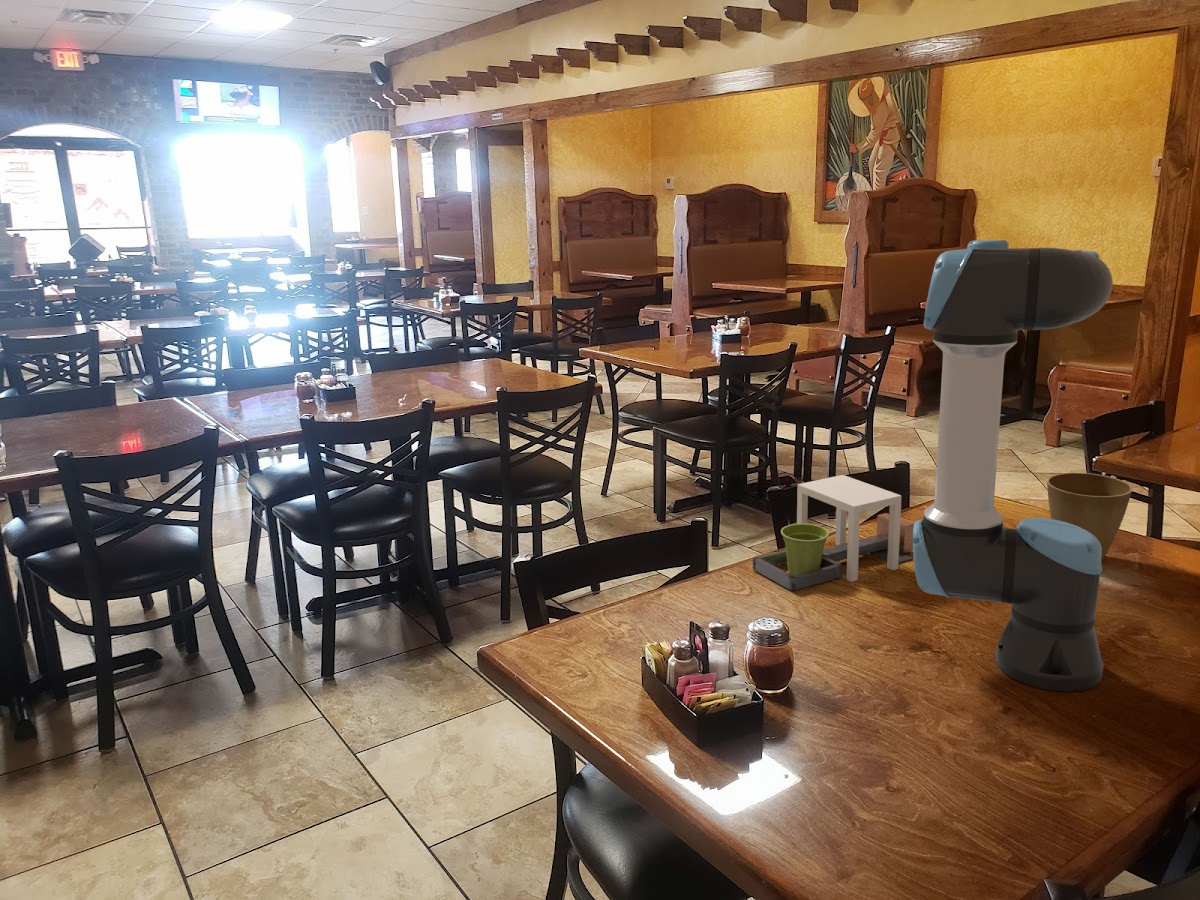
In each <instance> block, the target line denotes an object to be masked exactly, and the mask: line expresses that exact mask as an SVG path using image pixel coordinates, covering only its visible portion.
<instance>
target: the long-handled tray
mask: <svg viewBox="0 0 1200 900" xmlns="http://www.w3.org/2000/svg"><path fill="white" fill-rule="evenodd" d="M876 517H877V518H876V520H877V521H876V535H873V536H868V537H865V538H861V539H860V538H859V555H858V557H860V556H863V555H867V554H870V553H872V552H875V553H877V552H876V551H879V550H883V549H887V548H888V534H889V513H887V512H885V513H882V514H881V513H880V514H878V515H877V516H876ZM914 523H915V522H914ZM914 523H913V522H911V521H908V520H906V519H903V518H901V517H900V538H899V552H900V553H902V554H905V553H910V552H913V527H914ZM847 545H848V542H846V543H844V544H840V545H833V546H829V547H824V549H823V554H822V560H821V566H820V569H816V570H813V571H809V572H805V573H801V574H797V575H792V574H791V573H788V572H787V571H785V570H782V569H781V568H780V567H777V566H780V565H784V564H788V563H787V554H786V549H782V550H778V551H774V552H771V553H766V554H763V555H764V556H763V555H758V556H754V557H752V570H753V571H755V572H757V573H758V574H761V575H762V576H764V577H767V579H770V580H772V581H774V582H775V583H777V584H779V585H780V586H782V587H784V588H786V589H788V590H789V591H791V592H792V591H796V590H800V589H803V588H806V587H807V588H808V587H810V586H811V587H812V586H813V585H818V584H822V583H825V582H828V581H832V580H836V579H839V578H843V574H844V573H843V572H844V571H843V570H844V565H843V564H842V563H840V562H841V561H844V560H845V561H846V560H847ZM887 550H888V549H887ZM883 551H884V550H883ZM879 552H880V551H879ZM872 554H873V553H872Z"/></svg>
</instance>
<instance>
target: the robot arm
mask: <svg viewBox="0 0 1200 900" xmlns="http://www.w3.org/2000/svg"><path fill="white" fill-rule="evenodd" d="M966 247H967V248H964V249H963V248H962V249H954V250H953V249H952V250H947V251H944V252H942V253H940V254H939V256H938V257H937V258H936V259H935V264H934V265H933V266H934V267H933V271H932V275H931V278H930V284H929V288H928V294H927V299H926V304H925V311H924V319H923V327H924V328H925V329H927V330H929V331H932V330H933V336H932V337H933V338H932V339H933V340H932V342H933V343H934V344H935V345H936V347H938V348H939V350H941V351H942V367H941V368H942V369H941V370H942V371H941V384H940V385H941V386H940V388H941V389H940V403H939V416H938V417H939V418H938V419H939V421H938V422H939V423H938V434H937V436H938V437H937V453H936V456H937V457H936V470H935V471H936V472H935V487H934V490H935V491H934V501H933V503H931V504H930V505H929V506H928V507H926V508H925V509H924V510H923V518H922V519H921V518H920V519H919V520H915V521H914V527H913V551H912V555H913V557H912V558H913V566H914V575H915V579H916V583H917V586H918V587H919V588H920V589H921V591H923V592H925V593H927V594H932V595H938V596H943V597H945V598H947V599H948V598H955V599H956V598H957V599H967V600H976V601H984V602H992V603H993V602H994V603H1001V604H1002V603H1003V604H1011V613H1010V614H1011V615H1010V617H1009V619H1008V621H1007V623H1006V626H1005V627H1004V630H1003V632H1002V634H1001V636H1000V638H999V640H998V642H997V644H996V648H995V649H996V651H995V664H996V666H997V667H998V668H999V669H1000V671H1002V672H1003V673H1004V675H1007V676H1008V677H1009V678H1012V679H1014V680H1015V681H1018V682H1020V683H1023V684H1024V685H1028V686H1030V687H1034V688H1039V689H1043V690H1047V691H1048V690H1049V691H1057V692H1078V691H1085V690H1089V689H1092V688H1094V687H1096V686H1098V684H1100V683H1101V682H1102V679H1103V673H1104V661H1103V660H1104V659H1103V658H1102V655H1101V651H1100V647H1099V642H1098V637H1097V635H1096V631H1095V624H1096V614H1097V606H1098V595H1099V584H1100V577H1101V573H1102V572H1103V566H1102V561H1101V556H1102V548H1101V544H1100V542H1099V541H1098V539H1097V538H1096V537H1095V536H1094V535H1093V534H1091V533H1090V532H1088V531H1086V530H1084V529H1082V528H1080V527H1078V526H1076V525H1073V524H1070V523H1067V522H1063V521H1059V520H1054V519H1051V518H1048V517H1047V518H1046V517H1034V518H1033V517H1029V518H1028V517H1027V518H1024V519H1022V520H1020V521H1019V523H1018V524H1017V525H1016V528H1008V527H1003V525H1004V516H1003V515H1002V514H1001V513H1000V512H999V511H998V509H996V508H995V506H994V504H995V490H996V478H997V475H996V474H997V464H998V463H997V462H998V451H999V450H998V449H999V435H1000V424H1001V423H1000V422H1001V410H1002V393H1003V382H1004V368H1005V367H1004V366H1005V362H1006V359H1007V357H1008V354H1007V352H1008V351H1009V350H1010V349H1012V347H1014V346H1016V345H1017V343H1018V333H1019V331H1039V330H1040V331H1042V330H1053V329H1058V328H1062V327H1065V326H1066V327H1067V326H1069V325H1070V326H1071V325H1073V324H1076V323H1079V322H1082V321H1083V320H1086V319H1088V318H1090V317H1092V316H1093V315H1094V314H1097V312H1099V311H1100V310H1101V309H1102V308H1103V307H1104V306H1105V304H1106V303H1107V302H1108V300H1109V299H1110V296H1111V294H1112V291H1113V284H1114V282H1113V276H1112V273H1111V270H1110V268H1109V266H1108V265H1107V264H1106V262H1104V261H1103V260H1102V259H1100V255H1099V253H1098V252H1096V251H1094V250H1082V249H1079V250H1076V249H1075V250H1072V249H1066V248H1057V247H1035V248H1034V247H1030V248H1028V247H1026V248H1025V247H1024V248H1023V247H1021V248H1019V247H1017V248H1012V247H1011V248H1009V242H1008V241H1007V240H1005V239H977V240H971V241H969V243H968V244H967V246H966Z"/></svg>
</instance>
